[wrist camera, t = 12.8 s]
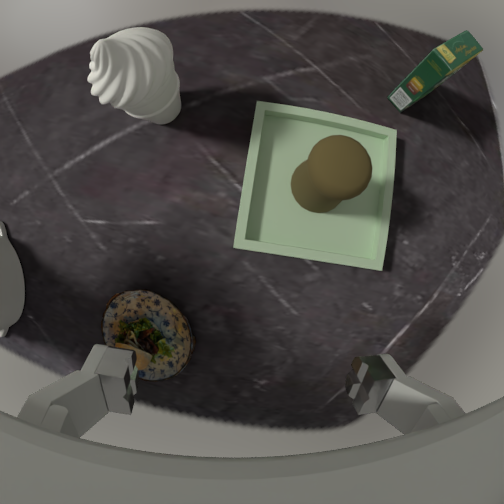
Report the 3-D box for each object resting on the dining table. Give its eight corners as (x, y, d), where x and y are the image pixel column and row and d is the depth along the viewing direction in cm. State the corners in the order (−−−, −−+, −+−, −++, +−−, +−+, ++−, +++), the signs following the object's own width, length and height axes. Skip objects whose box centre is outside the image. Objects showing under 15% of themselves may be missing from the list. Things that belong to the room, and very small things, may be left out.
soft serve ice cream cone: (183, 69, 31) (140, -13, 15) (209, 119, 32) (171, 40, 16) (125, 101, 32) (56, 40, 16) (146, 153, 32) (70, 104, 16)
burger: (215, 331, 34) (203, 357, 26) (161, 392, 34) (141, 423, 27) (137, 264, 33) (107, 273, 26) (92, 332, 34) (61, 351, 27)
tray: (235, 246, 33) (233, 247, 30) (257, 108, 31) (257, 100, 29) (375, 268, 32) (381, 270, 30) (389, 135, 31) (396, 130, 29)
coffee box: (399, 116, 31) (453, 71, 18) (384, 98, 31) (432, 46, 18) (433, 91, 30) (486, 49, 17) (419, 75, 30) (468, 28, 17)
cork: (355, 193, 31) (397, 176, 20) (311, 224, 31) (337, 220, 20) (323, 148, 31) (351, 111, 20) (279, 177, 31) (287, 149, 20)
